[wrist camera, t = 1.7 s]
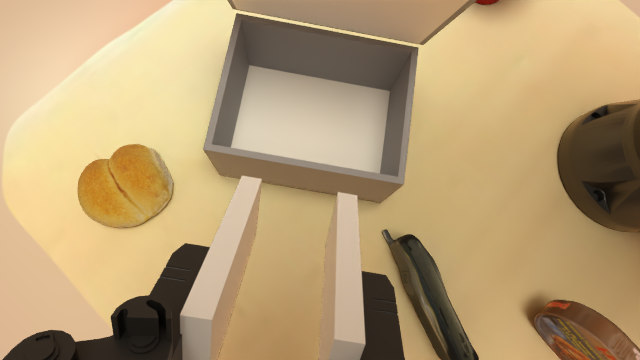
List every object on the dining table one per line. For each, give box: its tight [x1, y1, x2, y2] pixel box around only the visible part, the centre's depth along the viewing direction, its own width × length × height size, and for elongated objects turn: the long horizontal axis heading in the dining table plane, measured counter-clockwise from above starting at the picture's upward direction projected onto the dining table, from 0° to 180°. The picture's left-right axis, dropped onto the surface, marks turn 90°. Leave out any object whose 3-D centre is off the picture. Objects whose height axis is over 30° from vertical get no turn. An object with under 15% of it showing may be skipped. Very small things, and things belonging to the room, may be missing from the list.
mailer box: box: [203, 13, 418, 203], centre depth 41 cm, size 18×14×9 cm
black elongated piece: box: [382, 229, 479, 360], centre depth 40 cm, size 5×3×15 cm
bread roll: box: [78, 144, 173, 228], centre depth 40 cm, size 8×9×4 cm
